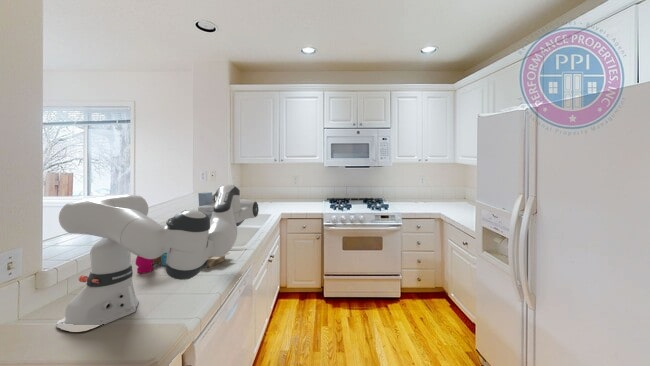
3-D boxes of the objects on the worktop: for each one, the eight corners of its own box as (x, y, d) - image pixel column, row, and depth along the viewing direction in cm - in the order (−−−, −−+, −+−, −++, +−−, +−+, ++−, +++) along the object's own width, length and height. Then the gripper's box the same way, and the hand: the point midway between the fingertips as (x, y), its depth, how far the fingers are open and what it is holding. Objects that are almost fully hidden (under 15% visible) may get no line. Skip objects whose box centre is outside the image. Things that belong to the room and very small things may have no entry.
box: (207, 226, 149) (205, 193, 147) (199, 225, 150) (198, 193, 149) (213, 224, 153) (212, 192, 152) (206, 223, 155) (204, 192, 153)
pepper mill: (140, 274, 138) (137, 230, 136) (133, 271, 142) (130, 228, 140) (156, 270, 143) (154, 227, 142) (149, 266, 148) (147, 225, 146)
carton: (210, 270, 142) (210, 262, 141) (180, 266, 148) (180, 258, 148) (235, 258, 159) (234, 250, 158) (207, 254, 165) (206, 247, 165)
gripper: (213, 218, 137) (188, 217, 142) (240, 210, 156) (218, 209, 161) (212, 204, 136) (188, 203, 141) (240, 198, 156) (218, 197, 160)
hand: (204, 206), depth 151 cm, fingers closed on box, 4 cm apart
